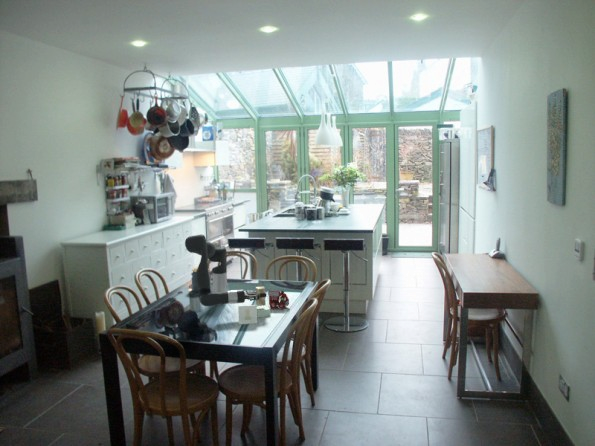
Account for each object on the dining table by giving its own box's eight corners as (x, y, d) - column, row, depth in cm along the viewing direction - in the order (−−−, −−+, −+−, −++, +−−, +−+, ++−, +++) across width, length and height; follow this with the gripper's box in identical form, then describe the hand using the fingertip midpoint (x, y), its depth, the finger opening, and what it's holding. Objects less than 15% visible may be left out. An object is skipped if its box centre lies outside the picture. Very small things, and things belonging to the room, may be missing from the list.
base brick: (257, 318, 280) (257, 311, 280) (251, 314, 287) (251, 307, 286) (270, 315, 284) (270, 308, 283) (264, 312, 291) (264, 305, 290)
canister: (195, 287, 349) (194, 262, 346) (213, 287, 347) (212, 262, 345) (189, 292, 336) (187, 266, 334) (207, 292, 334) (206, 267, 332)
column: (257, 306, 282) (257, 288, 280) (256, 303, 286) (255, 287, 285) (265, 305, 283) (265, 288, 282) (263, 303, 287) (263, 286, 286)
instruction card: (238, 324, 269) (238, 306, 268) (238, 322, 272) (238, 304, 271) (257, 323, 270) (256, 305, 269) (257, 321, 273) (256, 304, 272)
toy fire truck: (287, 309, 294) (287, 292, 293) (267, 309, 296) (266, 292, 294) (289, 306, 301) (289, 289, 299) (269, 305, 303) (269, 289, 301)
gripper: (237, 293, 272) (267, 290, 277) (233, 287, 286) (262, 284, 291) (238, 306, 273) (268, 303, 278) (233, 299, 287) (262, 297, 292)
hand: (265, 294), depth 284 cm, fingers closed on column, 4 cm apart
